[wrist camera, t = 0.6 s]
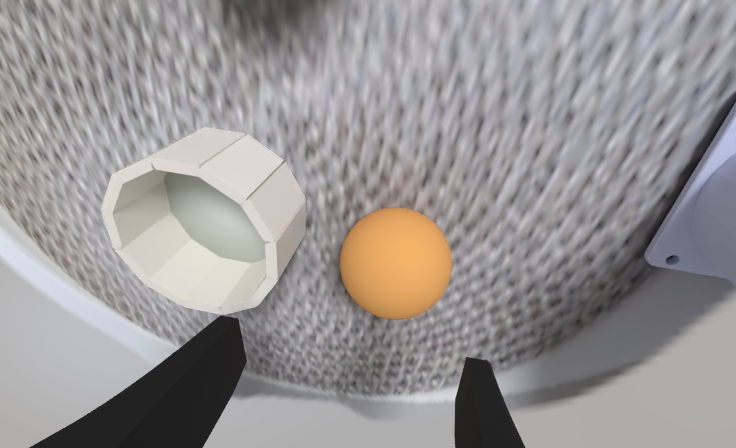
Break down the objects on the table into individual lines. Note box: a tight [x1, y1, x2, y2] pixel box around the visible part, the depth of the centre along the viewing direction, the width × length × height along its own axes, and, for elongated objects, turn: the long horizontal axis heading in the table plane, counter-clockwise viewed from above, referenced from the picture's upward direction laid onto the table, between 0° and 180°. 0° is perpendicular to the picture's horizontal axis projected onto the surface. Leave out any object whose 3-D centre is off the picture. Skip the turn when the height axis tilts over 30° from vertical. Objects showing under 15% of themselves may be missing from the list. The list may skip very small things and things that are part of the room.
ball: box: [340, 207, 452, 320], centre depth 17 cm, size 5×5×5 cm
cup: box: [101, 127, 306, 315], centre depth 18 cm, size 8×8×4 cm
